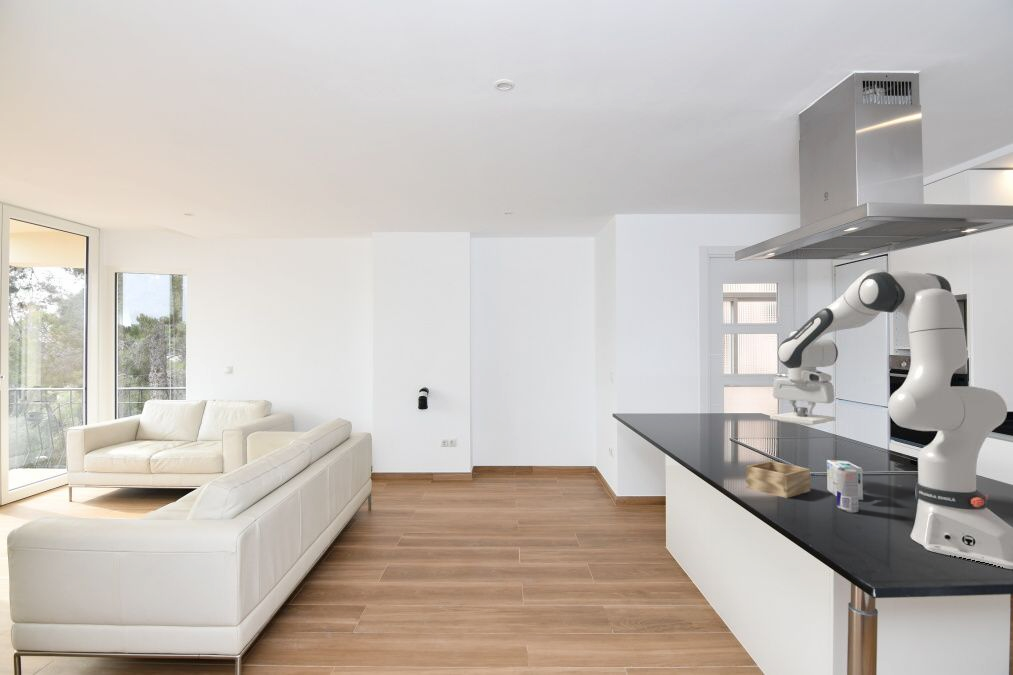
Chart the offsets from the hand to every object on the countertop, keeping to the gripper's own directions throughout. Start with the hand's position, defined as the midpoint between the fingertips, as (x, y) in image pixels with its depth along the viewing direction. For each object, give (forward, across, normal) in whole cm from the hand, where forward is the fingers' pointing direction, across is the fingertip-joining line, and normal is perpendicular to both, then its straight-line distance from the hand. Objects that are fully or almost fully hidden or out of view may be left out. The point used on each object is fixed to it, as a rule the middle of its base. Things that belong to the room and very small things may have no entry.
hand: (802, 413), depth 187 cm
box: (+24, +2, -19) cm, 31 cm away
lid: (+3, 0, 0) cm, 3 cm away
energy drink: (+24, +24, -20) cm, 40 cm away
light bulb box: (+24, +17, -7) cm, 31 cm away
